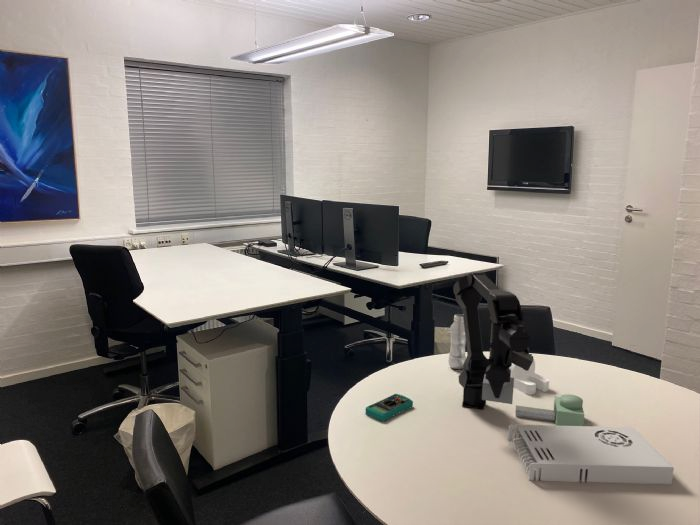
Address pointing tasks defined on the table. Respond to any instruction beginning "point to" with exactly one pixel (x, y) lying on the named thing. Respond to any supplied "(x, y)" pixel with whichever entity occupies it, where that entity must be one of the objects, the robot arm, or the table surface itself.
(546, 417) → the green domed block
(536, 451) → the power supply unit
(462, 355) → the plastic bottle
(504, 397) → the chute
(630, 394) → the table surface
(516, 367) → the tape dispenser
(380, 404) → the digital multimeter
